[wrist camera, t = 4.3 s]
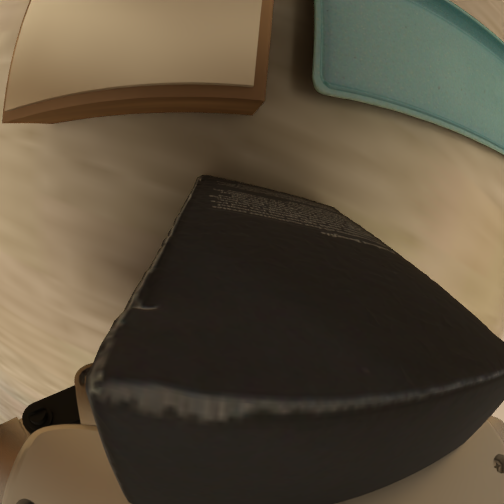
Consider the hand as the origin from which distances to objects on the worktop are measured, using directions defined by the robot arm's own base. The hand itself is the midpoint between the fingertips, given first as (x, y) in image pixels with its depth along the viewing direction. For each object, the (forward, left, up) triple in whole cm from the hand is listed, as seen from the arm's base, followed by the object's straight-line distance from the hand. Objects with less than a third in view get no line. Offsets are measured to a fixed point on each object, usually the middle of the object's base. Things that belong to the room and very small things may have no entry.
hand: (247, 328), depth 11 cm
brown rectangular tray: (-15, -5, -3) cm, 17 cm away
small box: (0, 0, -3) cm, 3 cm away
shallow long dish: (-14, +15, -4) cm, 21 cm away
